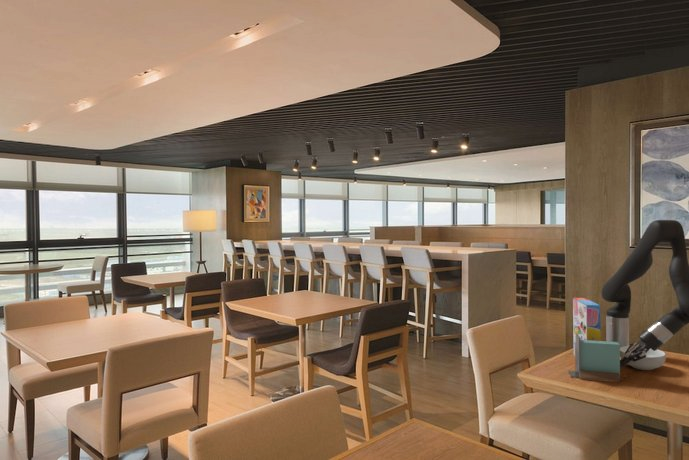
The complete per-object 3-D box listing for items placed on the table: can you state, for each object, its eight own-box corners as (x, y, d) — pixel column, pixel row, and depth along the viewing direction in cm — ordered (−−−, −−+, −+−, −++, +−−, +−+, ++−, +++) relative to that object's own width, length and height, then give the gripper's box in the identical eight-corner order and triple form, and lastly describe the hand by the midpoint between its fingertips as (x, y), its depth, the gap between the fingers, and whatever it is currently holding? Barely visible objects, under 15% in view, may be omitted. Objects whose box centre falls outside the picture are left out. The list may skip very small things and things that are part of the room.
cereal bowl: (618, 359, 207) (618, 343, 207) (662, 364, 199) (662, 348, 199) (620, 370, 192) (620, 353, 192) (668, 376, 184) (668, 358, 184)
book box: (578, 373, 188) (578, 339, 188) (617, 376, 184) (617, 342, 184) (580, 376, 185) (580, 342, 184) (619, 380, 180) (619, 344, 180)
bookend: (568, 371, 191) (567, 333, 191) (577, 372, 190) (577, 333, 190) (570, 377, 184) (570, 337, 184) (580, 377, 183) (580, 338, 183)
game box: (601, 369, 193) (601, 305, 193) (587, 369, 194) (586, 305, 194) (585, 355, 213) (585, 297, 213) (572, 355, 215) (572, 297, 214)
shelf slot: (575, 371, 192) (575, 342, 191) (612, 374, 187) (612, 344, 187) (579, 378, 182) (579, 348, 182) (619, 382, 178) (619, 351, 178)
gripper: (642, 325, 185) (608, 353, 189) (653, 332, 173) (617, 362, 177) (657, 338, 184) (623, 366, 188) (670, 347, 171) (632, 377, 175)
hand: (620, 364), depth 182 cm, fingers closed
